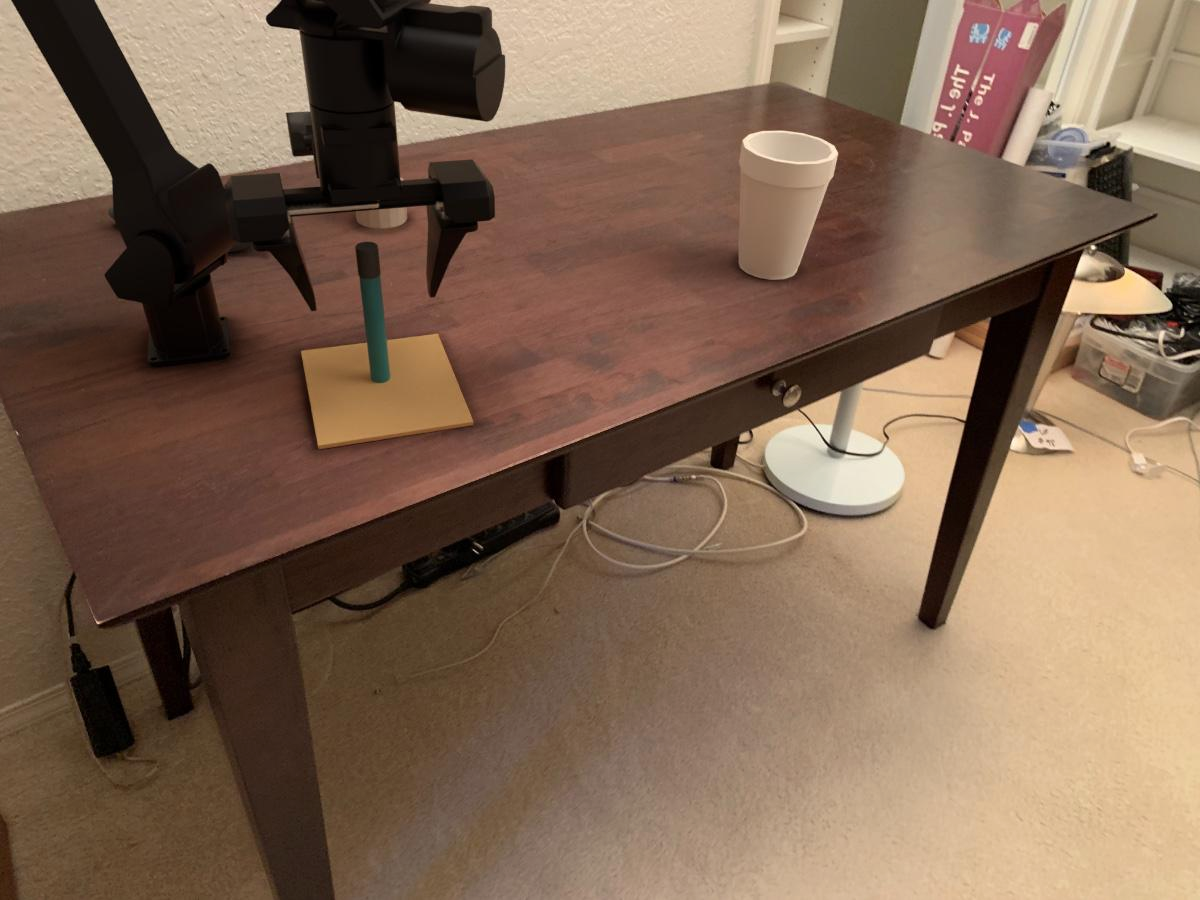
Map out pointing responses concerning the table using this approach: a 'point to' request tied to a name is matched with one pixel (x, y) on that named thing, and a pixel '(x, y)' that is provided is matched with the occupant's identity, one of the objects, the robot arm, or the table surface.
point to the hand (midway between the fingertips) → (373, 301)
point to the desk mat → (382, 392)
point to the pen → (373, 310)
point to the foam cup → (780, 199)
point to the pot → (382, 217)
